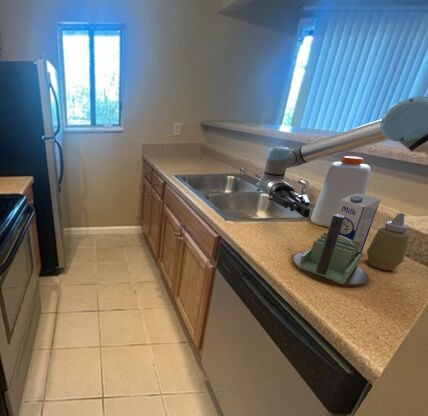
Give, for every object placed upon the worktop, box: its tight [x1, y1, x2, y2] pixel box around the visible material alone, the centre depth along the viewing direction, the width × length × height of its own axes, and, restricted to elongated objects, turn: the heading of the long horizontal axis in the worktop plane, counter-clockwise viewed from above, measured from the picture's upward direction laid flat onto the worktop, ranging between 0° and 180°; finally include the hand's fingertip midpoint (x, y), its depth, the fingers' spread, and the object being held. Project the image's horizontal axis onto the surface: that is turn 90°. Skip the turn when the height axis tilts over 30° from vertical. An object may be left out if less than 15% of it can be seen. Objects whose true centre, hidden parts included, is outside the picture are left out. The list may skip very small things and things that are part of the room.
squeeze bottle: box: [366, 211, 410, 271], centre depth 83 cm, size 8×8×18 cm
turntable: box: [292, 251, 368, 288], centre depth 85 cm, size 18×18×1 cm
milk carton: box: [337, 193, 382, 256], centre depth 92 cm, size 7×7×20 cm
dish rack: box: [298, 214, 363, 284], centre depth 81 cm, size 17×11×19 cm, turn 128°
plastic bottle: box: [310, 155, 372, 228], centre depth 111 cm, size 15×15×28 cm
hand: (306, 213), depth 87 cm, fingers closed
